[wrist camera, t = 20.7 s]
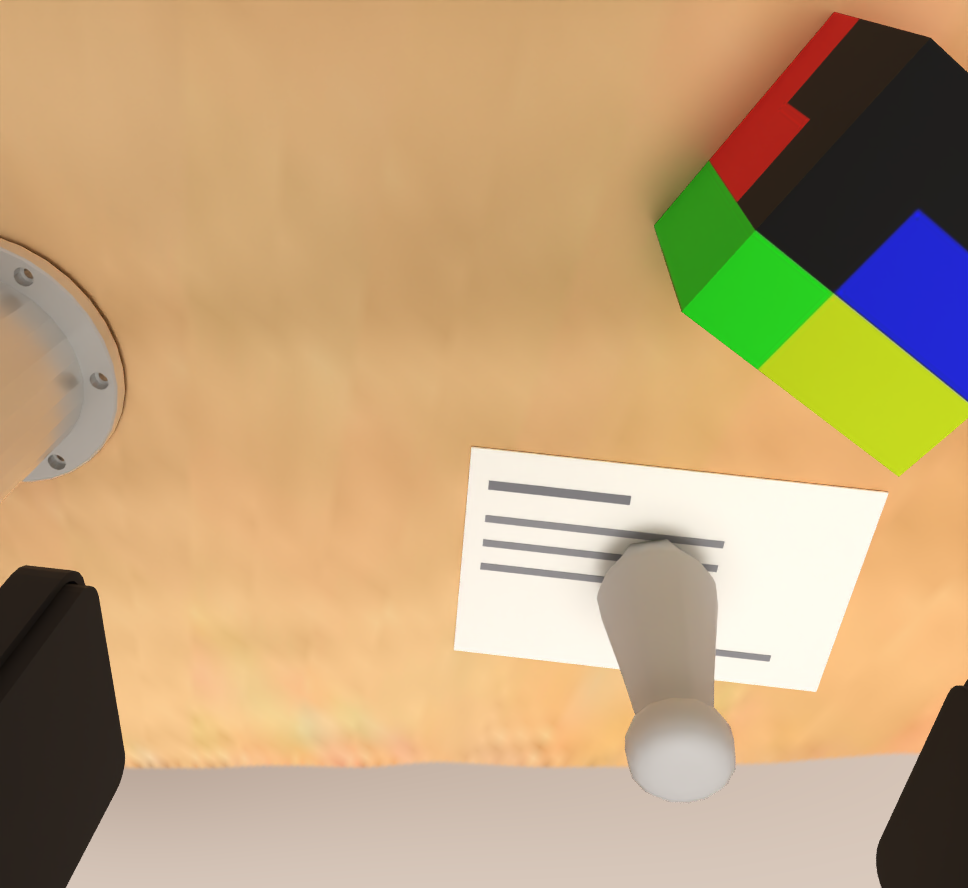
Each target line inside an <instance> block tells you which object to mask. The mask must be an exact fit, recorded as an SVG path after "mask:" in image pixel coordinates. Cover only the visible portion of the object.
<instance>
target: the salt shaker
mask: <svg viewBox="0 0 968 888" xmlns="http://www.w3.org/2000/svg"><path fill="white" fill-rule="evenodd" d="M597 602H598V606H599V610H600V615H601V619H602V622H603V624H604V627H605V630H606V633H607V635H608V638H609V641H610V644H611V646H612V649H613V652H614V655H615V657H616V660H617V663H618V665H619V668H620V671H621V674H622V676H623V679H624V682H625V685H626V688H627V691H628V694H629V698H630V701H631V704H632V707H633V710H634V713H635V716H634V718H633V720H632V722H631V724H630V726H629V729H628V731H627V733H626V736H625V752H626V756H627V761H628V765H629V769H630V772H631V775H632V778H633V779H634V780H635V782H636V783H637V784H638V785H639V786H640V787H641V788H642V789H643V790H644V791H645V792H647V793H649V794H651V795H653V796H656V797H658V798H661V799H664V800H666V801H668V802H679V803H691V802H695V801H699V800H703V799H707V798H709V797H710V796H712V795H713V794H715V793H716V792H718V791H719V790H721V789H722V788H723V787H725V786H726V785H727V784H728V782H729V780H730V778H731V776H732V775H733V773H734V771H735V747H734V738H733V735H732V731H731V728H730V726H729V724H728V723H727V721H726V720H725V719H724V718H723V717H722V716H721V715H720V714H719V712H718V711H717V710H716V709H715V708H714V673H715V654H716V636H717V617H718V599H717V590H716V583H715V581H714V579H713V577H712V576H711V575H710V574H709V572H708V571H707V570H706V569H705V567H704V566H703V565H702V564H701V563H700V561H699V560H697V559H696V558H694V557H693V556H691V555H689V554H688V553H686V552H684V551H683V550H681V549H680V548H678V547H677V546H676V545H674V544H673V543H672V542H670V541H669V540H668V539H663V540H655V541H648V542H640V543H633V544H630V545H629V547H628V548H627V550H626V551H625V552H624V554H623V555H622V557H621V558H620V559H619V560H618V561H617V562H616V563H615V564H614V565H613V566H612V567H611V568H610V569H609V570H608V571H607V572H606V574H605V577H604V579H603V581H602V584H601V586H600V589H599V591H598V595H597Z"/></svg>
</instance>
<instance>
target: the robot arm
mask: <svg viewBox="0 0 968 888" xmlns="http://www.w3.org/2000/svg"><path fill="white" fill-rule="evenodd" d="M124 395H125V385H124V372H123V366H122V363H121V359H120V356H119V352H118V348H117V345H116V343H115V341H114V339H113V337H112V335H111V333H110V331H109V329H108V327H107V324H106V322H105V321H104V319H103V318H102V317H101V315H100V314H99V312H98V311H97V309H96V308H95V307H94V305H93V304H92V302H91V301H90V299H89V298H88V297H87V296H86V295H85V294H84V293H83V292H82V291H81V290H80V289H79V288H78V287H77V286H76V285H75V284H74V283H73V282H72V280H71V279H70V278H68V277H67V276H66V275H65V274H63V273H62V272H61V271H59V270H58V269H57V268H56V267H54V266H53V265H52V264H50V263H49V262H48V261H47V260H45V259H43V258H41V257H40V256H38V255H36V254H34V253H32V252H31V251H29V250H27V249H25V248H24V247H22V246H20V245H17V244H14V243H12V242H9V241H7V240H4V239H1V238H0V503H1V502H2V501H3V500H4V499H5V498H6V497H7V496H8V495H9V494H10V493H11V492H12V491H13V490H14V489H15V488H16V487H17V486H18V485H19V484H20V483H21V482H36V481H42V480H49V479H54V478H57V477H60V476H62V475H65V474H68V473H71V472H73V471H75V470H76V469H78V468H79V467H81V466H82V465H84V464H85V463H87V462H89V461H90V460H91V459H92V458H93V457H94V456H95V455H96V453H97V452H98V451H99V450H100V449H101V448H102V447H103V446H104V445H105V444H106V442H107V441H108V439H109V438H110V437H111V435H112V434H113V433H114V431H115V429H116V426H117V424H118V421H119V419H120V416H121V414H122V409H123V402H124ZM124 764H125V751H124V745H123V739H122V733H121V727H120V721H119V715H118V709H117V703H116V697H115V691H114V685H113V679H112V673H111V667H110V661H109V655H108V649H107V643H106V637H105V631H104V625H103V619H102V613H101V608H100V602H99V596H98V593H97V590H96V589H95V588H94V587H92V586H85V583H84V580H83V577H82V576H81V575H80V573H79V572H76V571H71V570H62V569H54V568H45V567H36V566H27V565H25V566H22V567H19V568H18V569H17V570H16V571H15V572H14V573H13V574H12V575H11V576H10V577H9V578H8V579H7V580H6V582H5V583H4V584H3V585H2V586H1V587H0V888H66V886H67V884H68V882H69V880H70V878H71V876H72V875H73V872H74V871H75V869H76V867H77V865H78V863H79V861H80V859H81V857H82V855H83V853H84V851H85V850H86V848H87V846H88V844H89V842H90V840H91V838H92V836H93V834H94V832H95V831H96V829H97V827H98V825H99V823H100V821H101V819H102V817H103V815H104V813H105V811H106V809H107V808H108V806H109V804H110V802H111V800H112V798H113V796H114V794H115V792H116V790H117V788H118V786H119V784H120V781H121V778H122V774H123V770H124ZM876 866H877V874H878V877H879V881H880V884H881V887H882V888H968V680H967V681H966V683H965V684H964V686H955V687H953V688H952V689H951V690H950V692H949V693H948V695H947V697H946V699H945V701H944V703H943V706H942V708H941V710H940V712H939V714H938V716H937V718H936V721H935V723H934V725H933V727H932V729H931V731H930V734H929V736H928V738H927V740H926V742H925V744H924V746H923V749H922V751H921V753H920V755H919V757H918V759H917V762H916V764H915V766H914V768H913V771H912V772H911V775H910V777H909V779H908V781H907V783H906V785H905V787H904V790H903V792H902V794H901V796H900V798H899V800H898V803H897V805H896V807H895V809H894V811H893V813H892V816H891V817H890V820H889V822H888V824H887V826H886V828H885V830H884V833H883V835H882V837H881V839H880V841H879V844H878V848H877V854H876Z"/></svg>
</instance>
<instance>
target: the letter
mask: <svg viewBox="0 0 968 888" xmlns="http://www.w3.org/2000/svg"><path fill="white" fill-rule="evenodd" d="M887 496H888V492H885V491H875V490H866V489H857V488H848V487H839V486H830V485H821V484H811V483H802V482H793V481H784V480H775V479H766V478H756V477H747V476H738V475H729V474H720V473H711V472H702V471H692V470H683V469H674V468H665V467H656V466H647V465H637V464H628V463H619V462H610V461H601V460H592V459H583V458H573V457H564V456H555V455H546V454H537V453H528V452H518V451H509V450H500V449H491V448H482V447H473V446H472V448H471V460H470V471H469V483H468V494H467V506H466V517H465V528H464V540H463V551H462V563H461V574H460V586H459V597H458V609H457V620H456V632H455V643H454V650H458V651H466V652H475V653H484V654H492V655H501V656H510V657H518V658H527V659H536V660H545V661H553V662H562V663H571V664H579V665H588V666H597V667H605V668H614V669H620V668H619V665H618V663H617V660H616V657H615V655H614V652H613V649H612V646H611V644H610V641H609V638H608V635H607V633H606V630H605V627H604V624H603V622H602V619H601V615H600V610H599V606H598V602H597V595H598V591H599V589H600V586H601V584H602V581H603V579H604V577H605V574H606V572H607V571H608V570H609V569H610V568H611V567H612V566H613V565H614V564H615V563H616V562H617V561H618V560H619V559H620V558H621V557H622V555H623V554H624V552H625V551H626V550H627V548H628V547H629V545H630V544H633V543H640V542H648V541H655V540H663V539H668V540H669V541H670V542H672V543H673V544H674V545H676V546H677V547H678V548H680V549H681V550H683V551H684V552H686V553H688V554H689V555H691V556H693V557H694V558H696V559H697V560H699V561H700V563H701V564H702V565H703V566H704V567H705V569H706V570H707V571H708V572H709V574H710V575H711V576H712V577H713V579H714V581H715V583H716V590H717V599H718V617H717V636H716V654H715V673H714V680H719V681H727V682H736V683H745V684H753V685H762V686H771V687H779V688H788V689H797V690H806V691H814V692H816V691H817V688H818V685H819V682H820V680H821V677H822V674H823V672H824V669H825V666H826V663H827V661H828V658H829V655H830V652H831V650H832V647H833V644H834V641H835V639H836V636H837V633H838V630H839V628H840V625H841V622H842V619H843V617H844V614H845V611H846V608H847V606H848V603H849V600H850V597H851V595H852V592H853V589H854V586H855V584H856V581H857V578H858V575H859V573H860V570H861V567H862V564H863V562H864V559H865V556H866V553H867V551H868V548H869V545H870V542H871V540H872V537H873V534H874V531H875V529H876V526H877V523H878V520H879V518H880V515H881V512H882V509H883V507H884V504H885V501H886V499H887Z"/></svg>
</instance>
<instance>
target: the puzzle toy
mask: <svg viewBox="0 0 968 888" xmlns="http://www.w3.org/2000/svg"><path fill="white" fill-rule="evenodd" d="M654 228H655V231H656V234H657V237H658V240H659V243H660V246H661V249H662V253H663V256H664V259H665V262H666V265H667V268H668V271H669V274H670V277H671V280H672V284H673V287H674V290H675V293H676V296H677V299H678V302H679V305H680V308H681V311H682V312H683V313H684V314H685V315H687V316H688V317H689V318H691V319H692V320H693V321H694V322H696V323H697V324H698V325H700V326H701V327H702V328H704V329H705V330H706V331H708V332H709V333H710V334H712V335H713V336H714V337H716V338H717V339H718V340H719V341H721V342H722V343H723V344H725V345H726V346H727V347H729V348H730V349H731V350H733V351H734V352H735V353H737V354H738V355H739V356H741V357H742V358H743V359H744V360H746V361H747V362H748V363H750V364H751V365H752V366H754V367H755V368H756V369H758V370H759V371H760V372H762V373H763V374H764V375H766V376H767V377H768V378H769V379H771V380H772V381H773V382H775V383H776V384H777V385H779V386H780V387H781V388H783V389H784V390H785V391H787V392H788V393H789V394H790V395H792V396H793V397H794V398H796V399H797V400H798V401H800V402H801V403H802V404H804V405H805V406H806V407H808V408H809V409H810V410H812V411H813V412H814V413H815V414H817V415H818V416H819V417H821V418H822V419H823V420H825V421H826V422H827V423H829V424H830V425H831V426H833V427H834V428H835V429H837V430H838V431H839V432H840V433H842V434H843V435H844V436H846V437H847V438H848V439H850V440H851V441H852V442H854V443H855V444H856V445H858V446H859V447H860V448H862V449H863V450H864V451H865V452H867V453H868V454H869V455H871V456H872V457H873V458H875V459H876V460H877V461H879V462H880V463H881V464H883V465H884V466H885V467H887V468H888V469H889V470H890V471H892V472H893V473H894V474H896V475H897V476H898V477H899V476H900V475H901V474H903V473H904V472H905V471H906V470H907V469H909V468H910V467H911V466H912V465H913V464H914V463H916V462H917V461H918V460H919V459H920V458H921V457H923V456H924V455H925V454H926V453H927V452H929V451H930V450H931V449H932V448H933V447H934V446H936V445H937V444H938V443H939V442H940V441H941V440H943V439H944V438H945V437H946V436H947V435H949V434H950V433H951V432H952V431H953V430H954V429H956V428H957V427H958V426H959V425H960V424H961V423H963V422H964V421H965V420H966V419H967V418H968V72H967V71H965V70H964V69H963V68H962V67H961V66H960V65H959V64H958V63H957V62H956V61H955V60H954V59H953V58H952V57H950V56H949V55H948V54H947V53H946V52H945V51H944V50H943V49H942V48H941V47H940V46H939V45H938V44H937V43H936V42H934V41H933V40H932V39H931V38H929V37H926V36H922V35H918V34H914V33H911V32H907V31H903V30H900V29H896V28H892V27H888V26H885V25H881V24H877V23H874V22H870V21H866V20H862V19H859V18H855V17H851V16H848V15H844V14H840V13H836V12H834V13H833V14H832V15H831V17H830V18H829V19H828V20H827V21H826V22H825V24H824V25H823V26H822V27H821V28H820V30H819V31H818V32H817V33H816V34H815V35H814V37H813V38H812V39H811V40H810V41H809V43H808V44H807V45H806V46H805V47H804V49H803V50H802V51H801V52H800V53H799V54H798V56H797V57H796V58H795V59H794V60H793V62H792V63H791V64H790V65H789V66H788V67H787V69H786V70H785V71H784V72H783V73H782V75H781V76H780V77H779V78H778V79H777V80H776V82H775V83H774V84H773V85H772V86H771V88H770V89H769V90H768V91H767V92H766V94H765V95H764V96H763V97H762V98H761V99H760V101H759V102H758V103H757V104H756V105H755V107H754V108H753V109H752V110H751V111H750V112H749V114H748V115H747V116H746V117H745V118H744V120H743V121H742V122H741V123H740V124H739V126H738V127H737V128H736V129H735V130H734V131H733V133H732V134H731V135H730V136H729V137H728V139H727V140H726V141H725V142H724V143H723V144H722V146H721V147H720V148H719V149H718V150H717V152H716V153H715V154H714V155H713V156H712V158H711V159H710V160H709V161H708V162H707V163H706V165H705V166H704V167H703V168H702V169H701V171H700V172H699V173H698V174H697V175H696V176H695V178H694V179H693V180H692V181H691V182H690V184H689V185H688V186H687V187H686V188H685V190H684V191H683V192H682V193H681V194H680V195H679V197H678V198H677V199H676V200H675V201H674V203H673V204H672V205H671V206H670V207H669V208H668V210H667V211H666V212H665V213H664V214H663V216H662V217H661V218H660V219H659V220H658V222H657V223H656V224H655V225H654Z"/></svg>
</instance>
